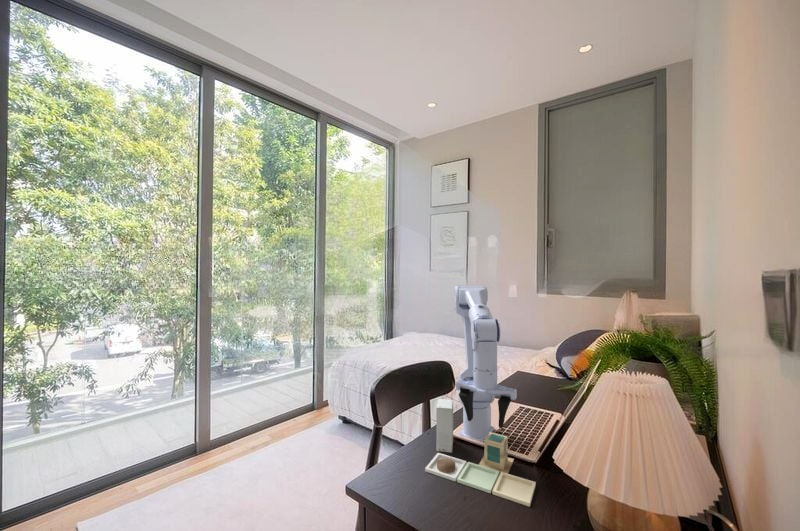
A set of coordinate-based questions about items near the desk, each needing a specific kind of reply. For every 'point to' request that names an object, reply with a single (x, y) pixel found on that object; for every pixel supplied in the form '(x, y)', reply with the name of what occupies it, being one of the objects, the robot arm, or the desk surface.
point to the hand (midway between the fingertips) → (485, 422)
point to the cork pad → (505, 470)
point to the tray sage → (478, 477)
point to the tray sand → (514, 488)
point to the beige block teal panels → (496, 450)
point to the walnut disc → (446, 465)
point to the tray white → (451, 476)
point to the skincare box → (444, 425)
